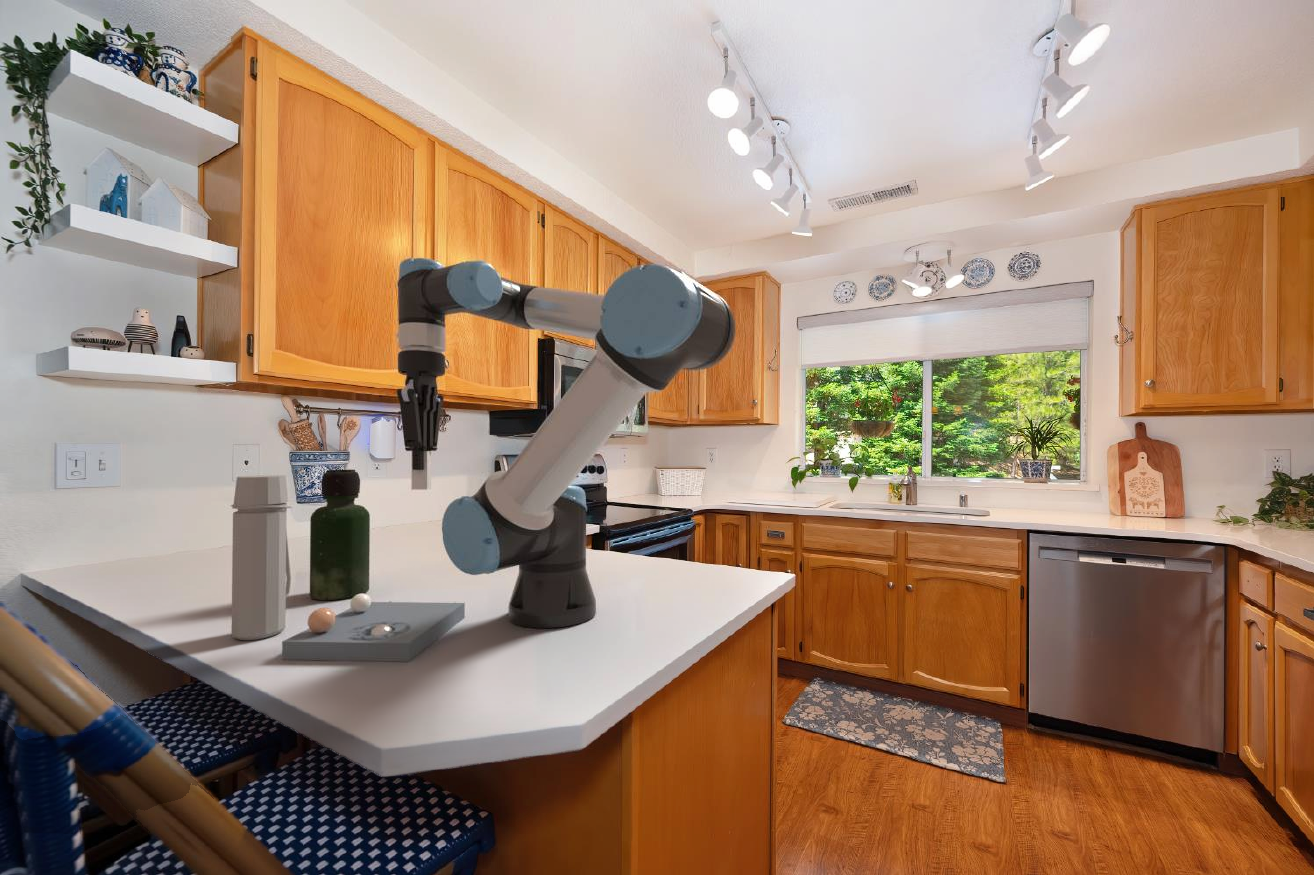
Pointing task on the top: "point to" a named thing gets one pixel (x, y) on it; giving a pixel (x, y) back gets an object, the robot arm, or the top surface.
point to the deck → (354, 643)
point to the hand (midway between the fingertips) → (421, 489)
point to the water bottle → (259, 557)
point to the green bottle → (339, 540)
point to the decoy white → (360, 603)
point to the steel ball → (381, 630)
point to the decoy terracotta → (321, 620)
